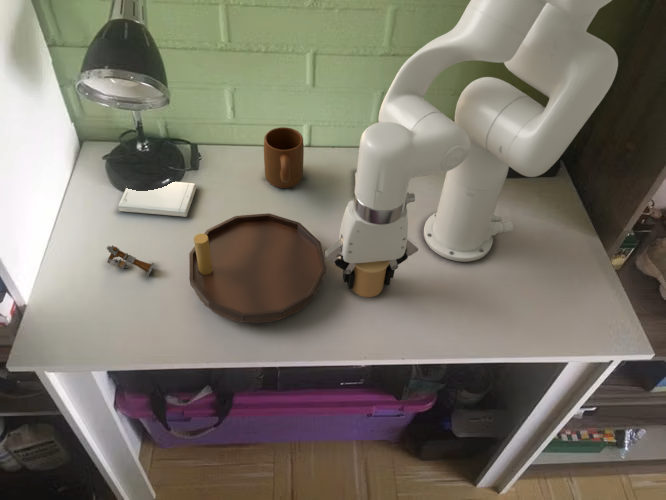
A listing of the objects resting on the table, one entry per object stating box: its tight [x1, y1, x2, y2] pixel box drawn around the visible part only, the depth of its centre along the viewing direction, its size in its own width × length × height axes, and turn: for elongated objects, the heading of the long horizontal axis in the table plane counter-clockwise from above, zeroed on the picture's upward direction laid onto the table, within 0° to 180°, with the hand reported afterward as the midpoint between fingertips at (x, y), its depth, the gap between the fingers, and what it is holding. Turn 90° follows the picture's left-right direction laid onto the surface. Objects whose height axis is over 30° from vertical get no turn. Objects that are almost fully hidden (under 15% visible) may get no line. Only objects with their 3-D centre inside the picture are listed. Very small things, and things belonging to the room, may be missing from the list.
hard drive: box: [117, 181, 197, 218], centre depth 112 cm, size 2×8×12 cm
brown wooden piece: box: [106, 244, 155, 277], centre depth 100 cm, size 2×8×4 cm, turn 77°
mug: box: [263, 126, 305, 189], centre depth 114 cm, size 12×8×9 cm, turn 6°
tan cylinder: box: [351, 261, 389, 298], centre depth 99 cm, size 6×6×7 cm
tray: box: [188, 212, 327, 324], centre depth 97 cm, size 22×22×8 cm
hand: (367, 280), depth 101 cm, fingers closed on tan cylinder, 5 cm apart
